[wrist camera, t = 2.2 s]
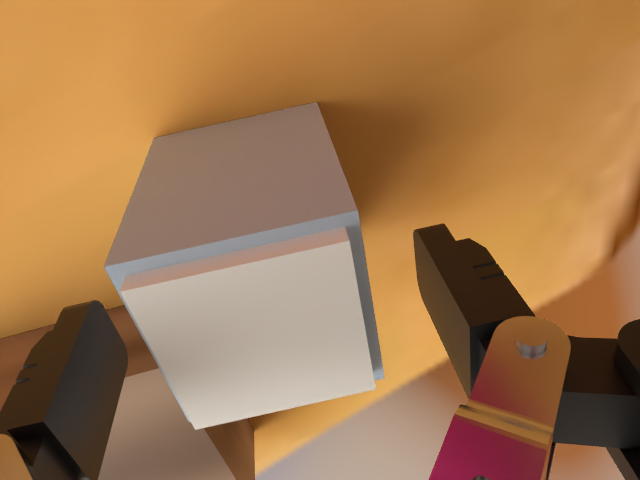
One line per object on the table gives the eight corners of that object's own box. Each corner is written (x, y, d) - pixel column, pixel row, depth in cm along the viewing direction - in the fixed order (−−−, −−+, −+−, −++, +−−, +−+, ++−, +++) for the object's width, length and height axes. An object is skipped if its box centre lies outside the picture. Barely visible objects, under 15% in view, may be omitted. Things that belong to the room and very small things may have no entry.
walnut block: (-51, 347, 19) (-114, 442, 15) (178, 284, 18) (164, 366, 15) (73, 473, 24) (45, 564, 20) (253, 425, 23) (255, 509, 20)
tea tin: (154, 137, 15) (97, 283, 9) (316, 101, 15) (363, 224, 9) (205, 266, 18) (186, 440, 12) (341, 236, 18) (389, 394, 12)
